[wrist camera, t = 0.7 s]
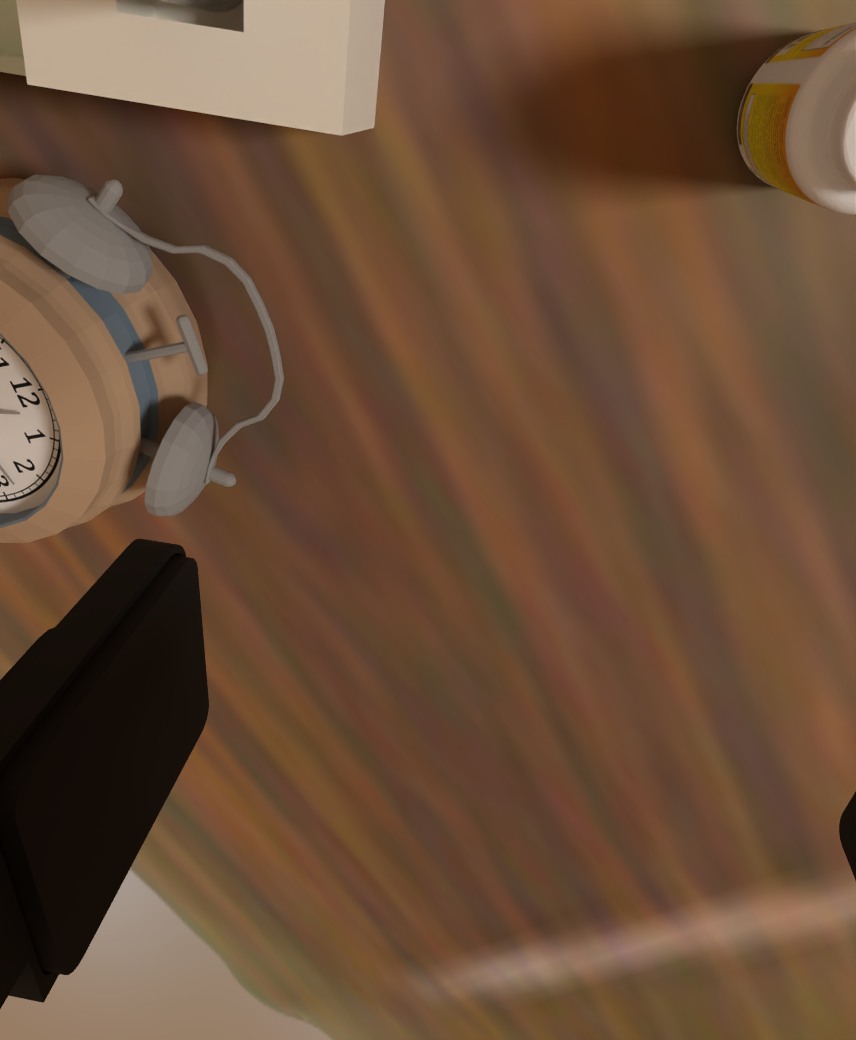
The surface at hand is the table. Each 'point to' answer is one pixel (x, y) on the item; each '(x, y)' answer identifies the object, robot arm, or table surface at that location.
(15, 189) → the alarm clock
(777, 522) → the table surface
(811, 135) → the supplement bottle
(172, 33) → the block
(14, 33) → the tray
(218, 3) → the pin
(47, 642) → the robot arm
